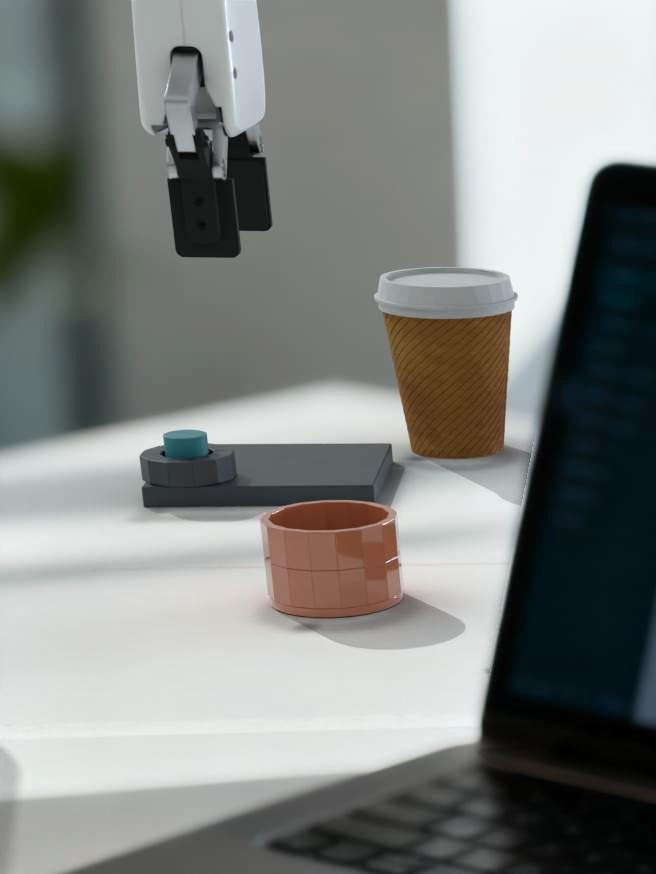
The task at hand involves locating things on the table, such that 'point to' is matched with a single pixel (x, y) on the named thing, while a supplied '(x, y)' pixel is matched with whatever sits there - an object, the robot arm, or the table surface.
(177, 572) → the table surface
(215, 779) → the table surface
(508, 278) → the disposable coffee cup
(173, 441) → the button
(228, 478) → the dark grey flat block
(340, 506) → the pink cylindrical container
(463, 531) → the table surface
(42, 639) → the table surface
